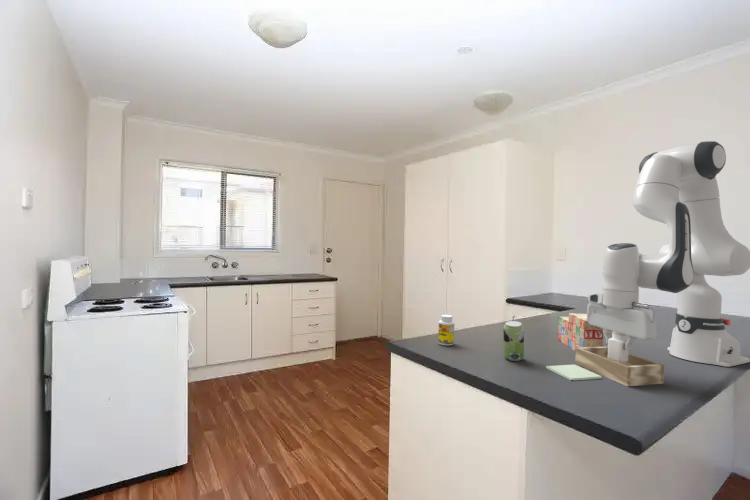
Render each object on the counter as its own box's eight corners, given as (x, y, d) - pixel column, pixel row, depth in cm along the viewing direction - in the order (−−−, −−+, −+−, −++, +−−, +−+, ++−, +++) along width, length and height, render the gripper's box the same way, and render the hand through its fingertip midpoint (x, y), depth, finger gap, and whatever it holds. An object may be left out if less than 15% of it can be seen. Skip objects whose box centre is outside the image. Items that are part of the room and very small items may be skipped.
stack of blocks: (557, 339, 145) (558, 308, 144) (574, 340, 144) (575, 309, 144) (583, 356, 123) (584, 319, 123) (602, 357, 123) (604, 320, 122)
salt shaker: (629, 362, 107) (630, 329, 106) (620, 363, 105) (621, 330, 105) (614, 358, 110) (615, 326, 110) (606, 359, 108) (607, 327, 108)
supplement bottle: (434, 343, 135) (435, 315, 135) (445, 341, 138) (446, 313, 138) (446, 346, 130) (447, 317, 130) (457, 344, 133) (457, 316, 133)
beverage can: (524, 357, 120) (525, 320, 120) (523, 364, 113) (524, 325, 113) (503, 354, 122) (505, 318, 122) (501, 361, 116) (502, 322, 116)
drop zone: (574, 366, 113) (574, 364, 112) (601, 378, 103) (601, 376, 103) (546, 368, 110) (546, 366, 110) (571, 380, 100) (571, 378, 100)
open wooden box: (607, 362, 118) (608, 346, 118) (663, 383, 100) (664, 365, 100) (575, 363, 115) (575, 347, 115) (627, 386, 97) (627, 367, 97)
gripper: (664, 305, 98) (662, 357, 98) (600, 294, 118) (599, 337, 118) (644, 306, 96) (643, 359, 97) (583, 294, 116) (582, 338, 116)
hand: (618, 347), depth 107 cm, fingers closed on salt shaker, 4 cm apart
